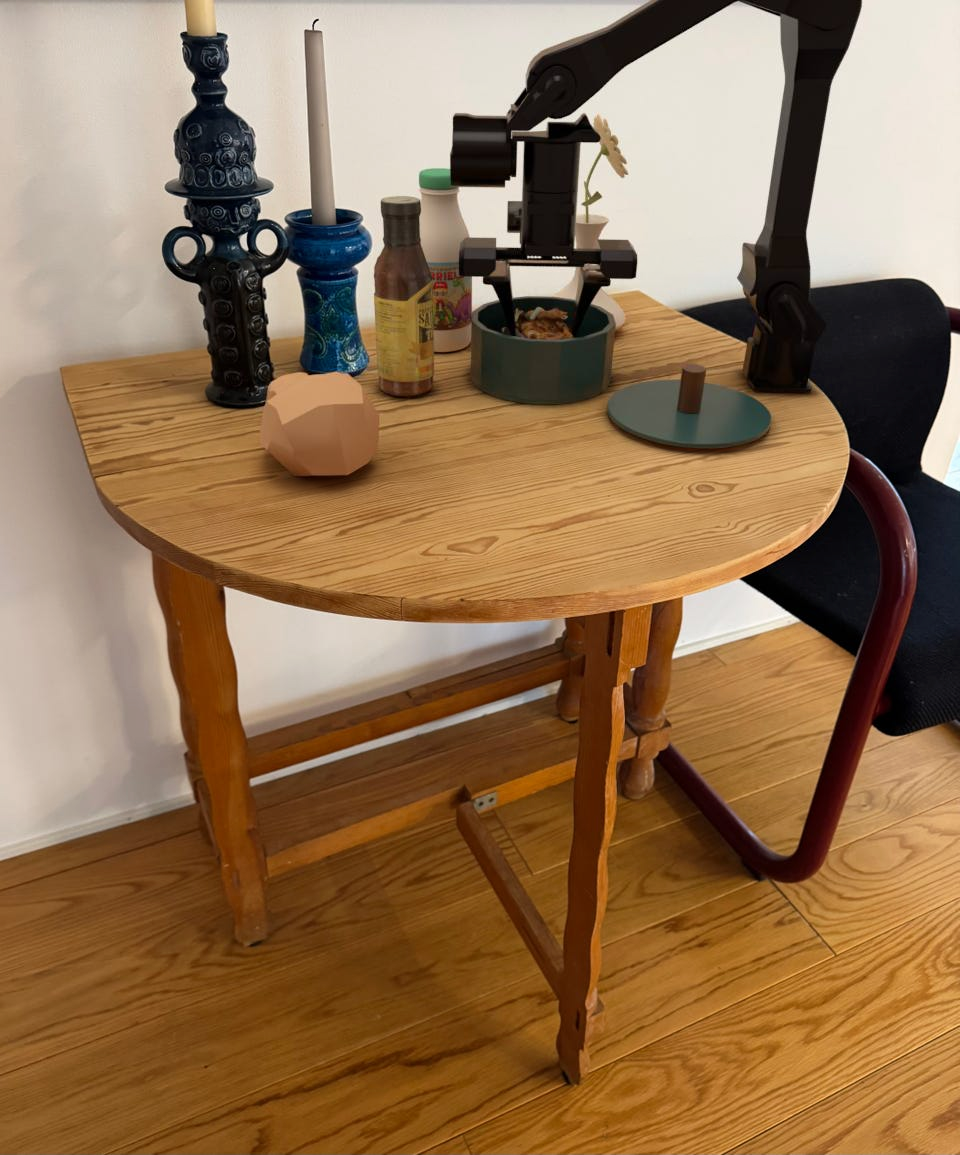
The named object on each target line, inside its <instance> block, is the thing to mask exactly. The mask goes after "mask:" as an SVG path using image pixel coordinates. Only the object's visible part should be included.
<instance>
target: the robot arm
mask: <svg viewBox="0 0 960 1155" xmlns="http://www.w3.org/2000/svg"><path fill="white" fill-rule="evenodd" d="M737 2H739V3H742V4H745V5H747V6H750V7H753V8H755V9H757V10H760V11H762V12H764V13H768V14H771V15H774V16H776V17H779V25H780V26H779V30H780V32H779V33H780V50H781V57H782V65H783V72H784V86H783V92H782V99H781V107H780V114H779V119H778V120H779V121H778V128H777V135H776V142H775V148H774V155H773V162H772V169H771V176H770V183H769V190H768V197H767V203H766V211H765V215H764V216H765V217H764V224H763V227H762V230H761V232H760V234H759V235H758V237H757V240H756V241H755V243H750V242H743V243H742V247H741V252H742V254H741V255H742V256H741V257H742V261H741V262H742V263H741V268H740V270H739V273H738V274H737V277H736V279H737V281H738V282H739V284H740V285H741V286H742V292H743V294H744V297H745V298H746V300H747V301H748V302H749V304H750V305H751V306H752V307H753V310H755V313H756V316H757V318H758V319H760V320H761V322H762V323H755V324H754V329H753V335H752V337H748V338H747V341H746V348H745V353H744V359H743V364H742V371H741V372H742V374H743V376H744V377H745V379H746V380H747V382H748V383H749V386H750V387H751V388H752V390H753V391H755V392H775V393H776V392H779V393H781V392H782V393H811V392H812V391H813V386H812V385H811V384H810V382H809V379H810V374H811V369H812V364H813V359H814V355H815V350H816V345H817V342H818V341H819V340H820V339H821V336H822V334H823V333H824V332H825V330H826V329H827V326H828V324H827V322H826V321H825V319H824V318H823V316H821V314H820V313H819V312H818V311H817V309H816V308H815V307H814V306H813V305H812V304H811V302H810V300H811V261H810V254H809V253H810V252H809V246H808V238H807V232H808V224H809V219H810V213H811V207H812V201H813V195H814V189H815V185H816V184H815V183H816V177H817V172H818V167H819V166H818V165H819V159H820V154H821V147H822V141H823V136H824V135H823V134H824V129H825V124H826V117H827V111H828V106H829V100H830V94H831V90H832V89H831V88H832V83H833V80H834V78H835V77H836V74H837V72H838V70H839V69H840V66H841V64H842V62H843V60H844V58H845V56H846V54H847V52H848V51H849V48H850V45H851V42H852V40H853V36H854V33H855V30H856V27H857V24H858V21H859V18H860V15H861V13H862V12H861V11H862V7H863V0H649V1H647V2H645V3H643V4H642V5H640V6H639V7H637V8H635V9H634V10H631V12H628V13H627V14H626V15H624V16H622V17H621V18H619V19H617V20H616V21H614V22H612V23H610V24H609V25H608V26H607V25H606V27H603V28H600V29H597V30H595V31H592V32H589V33H585V34H583V35H580V36H576V37H573V38H570V39H568V40H565V41H563V42H560V43H557V44H554V45H552V46H549V47H546V48H544V49H542V50H540V51H539V52H538V53H537V54H535V55H534V56H533V57H532V59H531V60H530V62H529V64H528V66H527V69H526V72H525V87H524V88H523V90H522V91H521V92H520V94H519V95H518V97H517V98H516V100H514V102H513V103H510V108H509V110H508V111H507V112H506V115H477V114H471V113H467V112H455V113H454V114H453V116H452V134H451V135H452V140H451V141H452V142H451V149H450V152H449V163H450V164H449V169H450V178H451V187H459V188H493V189H495V188H496V189H497V188H499V189H500V188H501V189H503V188H504V189H505V188H506V182H511V178H517V167H518V142H523V156H522V158H523V159H522V187H521V188H522V191H521V200H507V208H506V209H507V212H506V214H507V215H506V216H507V217H506V219H507V220H506V221H507V222H506V232H507V233H508V234H519V245H520V247H504V246H501V247H499V246H498V247H497V237H471V236H470V237H465V239H464V240H463V241H462V242H461V243H460V249H459V275H461V276H464V277H472V278H476V277H477V278H482V284H483V285H487V286H492V288H493V290H494V292H495V295H496V297H497V300H499V301H500V303H501V305H502V308H503V311H504V314H505V317H506V321H507V324H508V327H509V330H510V334H511V336H515V314H514V304H513V298H514V295H513V286H512V276H511V275H512V274H511V267H541V268H542V267H543V268H548V267H550V268H552V267H553V268H576V267H580V270H579V280H578V287H577V293H576V298H575V304H574V310H573V315H572V321H571V334H572V335H573V338H575V336H576V334H577V332H578V330H579V327H580V325H581V323H582V321H583V318H584V316H585V314H586V312H587V310H588V308H589V306H590V304H591V303H592V301H593V299H594V298H595V296H596V295H597V293H598V291H599V290H600V288H604V287H606V288H607V287H610V286H611V284H612V283H611V282H612V280H633V279H636V278H637V270H638V253H637V251H636V249H635V247H634V245H633V244H632V243H631V241H630V240H629V239H605V238H603V239H601V238H599V239H597V243H596V249H577V248H576V247H575V245H576V238H575V228H576V215H577V211H578V197H579V196H578V193H579V177H580V162H581V161H580V160H581V144H583V143H586V144H587V143H590V144H591V143H592V144H597V143H599V141H600V139H601V136H600V135H599V133H598V131H597V130H596V129H595V128H594V125H593V124H591V121H590V120H589V117H588V115H587V113H585V112H582V114H580V115H579V117H578V118H577V119H576V120H575V121H547V122H546V128H545V130H538V131H537V130H536V131H535V130H534V131H531V130H532V129H534V128H535V127H537V126H538V125H540V124H541V123H542V122H544V121H546V120H547V119H551V120H552V119H553V120H561V119H563V118H567V117H569V116H571V115H573V113H575V112H576V111H578V110H579V109H580V108H581V107H582V106H583V105H585V104H586V103H587V102H588V101H589V100H591V99H592V98H593V97H594V96H595V95H596V94H597V93H599V92H600V91H601V90H602V89H603V88H605V86H606V85H607V84H608V83H609V82H610V81H611V80H612V79H613V78H614V77H615V76H616V75H618V73H620V72H621V71H622V70H623V69H624V68H626V67H627V66H629V65H631V64H632V63H634V62H636V61H638V60H639V59H641V58H643V57H644V56H646V55H648V54H649V53H651V52H653V51H654V50H656V49H658V48H659V47H661V46H663V45H665V44H666V43H668V42H670V41H671V40H673V39H675V38H677V37H678V36H680V35H682V34H684V33H685V32H686V31H688V30H690V29H692V28H694V27H695V26H697V25H698V24H701V23H702V22H704V21H706V20H707V19H708V18H710V17H712V16H714V15H716V14H717V13H719V12H721V11H723V10H724V9H726V8H727V7H729V6H731V5H733V4H734V3H737Z"/></svg>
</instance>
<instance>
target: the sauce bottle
mask: <svg viewBox="0 0 960 1155" xmlns="http://www.w3.org/2000/svg"><path fill="white" fill-rule="evenodd" d="M380 213H381V217H382V224H383V225H382V227H383V229H382V230H383V237H382V242H383V247H382V250H381V252H380V254H379V255H378V256H377V258H376V261H375V264H374V266H373V279H374V293H373V304H374V325H375V326H374V327H375V348H376V349H375V350H376V352H375V353H376V369H377V371H376V372H377V375H378V385H379V389H380V390H381V391H382V392H384V393H385V394H388V395H391V396H394V397H415V396H418V395H424V393H425V394H426V393H428V392H429V391H430V390H431V389H432V388H433V386H434V375H435V352H434V326H433V321H434V319H433V278H432V275H431V272H430V270H429V267H428V264H427V261H426V258H425V255H424V252H423V249H422V247H421V243H420V242H421V239H420V223H419V216H420V214H421V199H420V198H418V197H416V196H415V197H414V196H410V195H409V196H408V195H395V196H387V197H383V198H381V199H380Z"/></svg>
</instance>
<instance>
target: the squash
mask: <svg viewBox="0 0 960 1155" xmlns="http://www.w3.org/2000/svg"><path fill="white" fill-rule="evenodd" d="M265 400H266V401H265V403H264V406H263V410H262V415H261V416H262V417H261V422H260V428H259V435H258V441H257V442H258V443H259V444H260V446H262V447H263V448H264V449H265V450H266V451H267V452H268V453H269V454H271V456H273V457H274V458H275V459H276V460H277V461H278V463H280V464H281V465H282V466H283V467H284V468H285V469H286V470H287V471H289V473H291V475H293V477H323V476H325V477H326V476H327V477H328V476H349V475H350V474H352V473H354V472H355V471H357V470H359V469H361V468H362V467H364V466H365V465H367V464H368V463H369V462H370V460H372V458H373V457H374V456H375V454H377V452H378V451H379V447H380V443H379V442H380V413H379V412H378V411H377V409H376V407H375V406H374V404H373V402H372V401H371V399H370V398H369V396H368V395H367V392H366V391H365V389H364V387H363V386H362V385H361V384H360V383H359V382H358V381H357V380H355V379H354V378H353V377H352V376H351V375H350V374H349V373H348V372H346V373H344V372H342V373H340V372H339V371H333V372H327V373H319V374H311V375H309V374H308V373H307V372H302V371H299V372H293V373H288V374H283V375H281V376H279V377H277V378H275V379H274V380H272V381H270V383H269V384H268V386H267V392H266V399H265Z"/></svg>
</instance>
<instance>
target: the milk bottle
mask: <svg viewBox="0 0 960 1155" xmlns="http://www.w3.org/2000/svg"><path fill="white" fill-rule="evenodd" d="M418 185H419V190H418V192H419V193H420V195H421V196H420V197H421V199H420V202H421V214H420V216H419V223H420V239H421V242H420V243H421V247H422V249H423V252H424V255H425V258H426V261H427V264H428V267H429V270H430V272H431V275H432V278H433V319H434V321H433V326H434V353H446V352H447V353H450V352H456V351H459V350H462V349H465V348H467V347H468V346H469V345H470V344H471V320H472V312H473V277H464V276H461V275H459V249H460V243H461V242H462V241H463V240H464V239H465V237H471V236H470V234H469V230H468V227H467V225H466V222H465V220H464V218H463V215H462V213H461V212H462V211H461V209H460V205H459V201H458V200H459V199H458V193H459V192H460V187H451V178H450V168H446V167H445V168H443V167H442V168H441V167H433V168H425V169H421V170H420V171H419V174H418Z"/></svg>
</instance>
